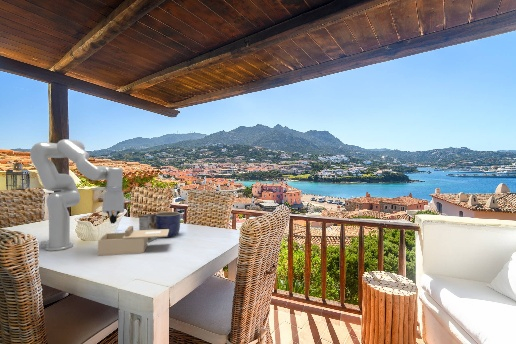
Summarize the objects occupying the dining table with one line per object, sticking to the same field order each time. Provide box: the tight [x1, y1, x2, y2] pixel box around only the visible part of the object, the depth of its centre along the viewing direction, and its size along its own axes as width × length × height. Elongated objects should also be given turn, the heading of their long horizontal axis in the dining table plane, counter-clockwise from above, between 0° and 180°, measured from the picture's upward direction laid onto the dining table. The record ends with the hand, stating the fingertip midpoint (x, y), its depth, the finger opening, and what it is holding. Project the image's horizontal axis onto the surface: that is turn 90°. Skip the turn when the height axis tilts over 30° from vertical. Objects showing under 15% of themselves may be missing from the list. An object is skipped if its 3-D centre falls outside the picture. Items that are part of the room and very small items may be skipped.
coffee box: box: [138, 213, 157, 244], centre depth 172 cm, size 9×6×16 cm
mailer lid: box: [123, 225, 169, 239], centre depth 155 cm, size 22×15×4 cm
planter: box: [155, 211, 181, 238], centre depth 185 cm, size 17×16×15 cm
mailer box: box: [97, 232, 148, 257], centre depth 152 cm, size 22×15×8 cm
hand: (113, 222), depth 151 cm, fingers closed
